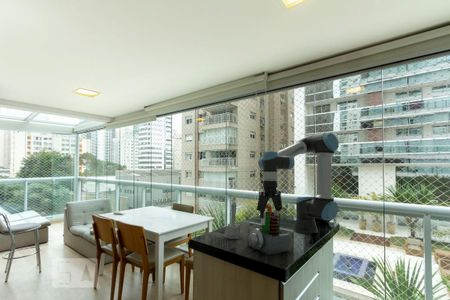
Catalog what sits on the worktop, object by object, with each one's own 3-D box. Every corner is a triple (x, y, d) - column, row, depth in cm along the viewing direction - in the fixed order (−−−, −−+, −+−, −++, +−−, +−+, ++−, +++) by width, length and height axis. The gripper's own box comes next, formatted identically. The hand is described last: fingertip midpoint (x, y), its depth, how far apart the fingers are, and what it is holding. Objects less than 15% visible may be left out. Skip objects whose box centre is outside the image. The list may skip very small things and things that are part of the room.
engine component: (223, 238, 137) (240, 239, 135) (223, 202, 138) (240, 203, 136) (226, 233, 147) (242, 234, 145) (227, 200, 149) (243, 201, 147)
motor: (274, 248, 115) (275, 206, 117) (257, 244, 120) (259, 204, 122) (281, 243, 124) (282, 204, 126) (265, 240, 129) (266, 203, 131)
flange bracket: (267, 241, 132) (268, 222, 132) (289, 250, 118) (289, 229, 119) (242, 246, 122) (242, 225, 123) (262, 256, 109) (262, 233, 110)
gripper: (279, 179, 133) (279, 220, 131) (250, 179, 122) (249, 224, 120) (289, 180, 127) (289, 223, 125) (259, 180, 116) (258, 227, 114)
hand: (269, 223), depth 123 cm, fingers closed on motor, 8 cm apart
